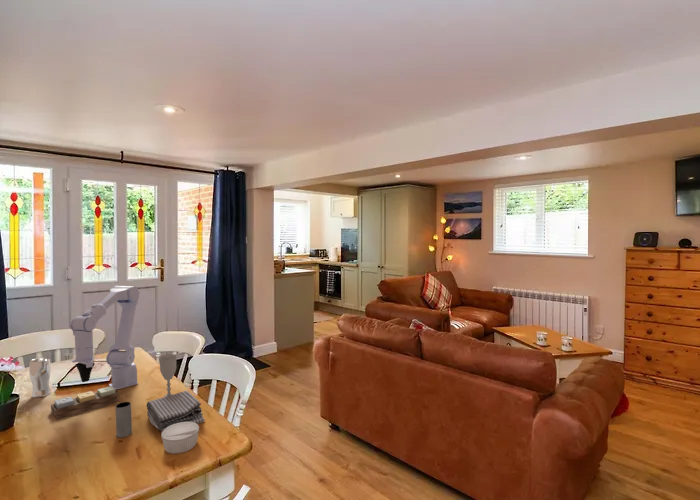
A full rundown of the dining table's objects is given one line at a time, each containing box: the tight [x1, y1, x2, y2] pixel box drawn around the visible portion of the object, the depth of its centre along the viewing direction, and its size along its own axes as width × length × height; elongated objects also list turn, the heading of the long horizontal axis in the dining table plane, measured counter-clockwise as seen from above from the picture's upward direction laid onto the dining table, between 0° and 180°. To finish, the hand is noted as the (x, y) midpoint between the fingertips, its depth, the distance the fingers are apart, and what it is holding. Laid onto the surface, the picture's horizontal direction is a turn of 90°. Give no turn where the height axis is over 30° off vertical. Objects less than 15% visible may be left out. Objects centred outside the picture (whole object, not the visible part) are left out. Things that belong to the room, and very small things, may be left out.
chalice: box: [157, 353, 178, 397], centre depth 156 cm, size 7×7×18 cm
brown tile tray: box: [50, 390, 120, 421], centre depth 152 cm, size 21×11×3 cm, turn 137°
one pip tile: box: [96, 385, 115, 397], centre depth 157 cm, size 5×5×2 cm
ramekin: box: [161, 422, 200, 455], centre depth 124 cm, size 11×11×5 cm
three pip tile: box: [54, 396, 74, 409], centre depth 147 cm, size 5×5×2 cm
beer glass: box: [28, 356, 52, 399], centre depth 162 cm, size 7×7×15 cm
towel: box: [146, 390, 205, 433], centre depth 141 cm, size 15×18×8 cm
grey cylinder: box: [114, 401, 133, 439], centre depth 131 cm, size 4×4×10 cm
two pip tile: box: [76, 390, 95, 403], centre depth 152 cm, size 5×5×2 cm
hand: (85, 381), depth 152 cm, fingers closed
